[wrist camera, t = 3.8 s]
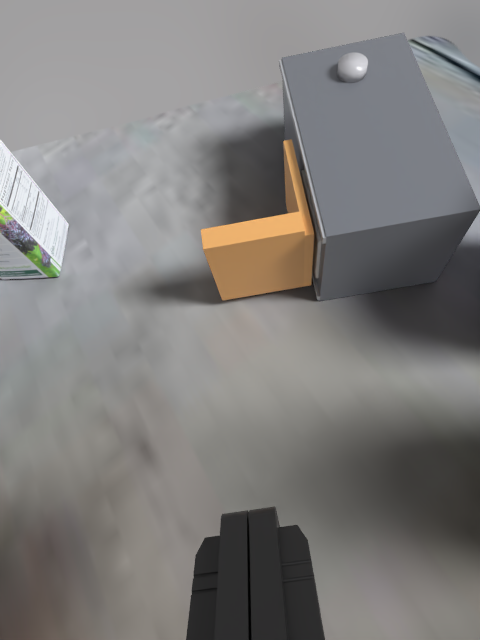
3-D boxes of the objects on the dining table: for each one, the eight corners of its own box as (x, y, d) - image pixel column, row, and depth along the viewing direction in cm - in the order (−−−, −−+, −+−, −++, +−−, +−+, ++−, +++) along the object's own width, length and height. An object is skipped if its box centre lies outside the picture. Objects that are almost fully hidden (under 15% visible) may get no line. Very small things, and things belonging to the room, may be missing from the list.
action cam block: (435, 281, 33) (486, 200, 24) (317, 301, 34) (323, 229, 25) (378, 120, 40) (401, 11, 31) (280, 139, 41) (276, 37, 32)
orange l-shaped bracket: (311, 285, 33) (314, 229, 27) (222, 300, 34) (203, 249, 27) (292, 202, 37) (291, 133, 30) (212, 217, 37) (192, 152, 30)
